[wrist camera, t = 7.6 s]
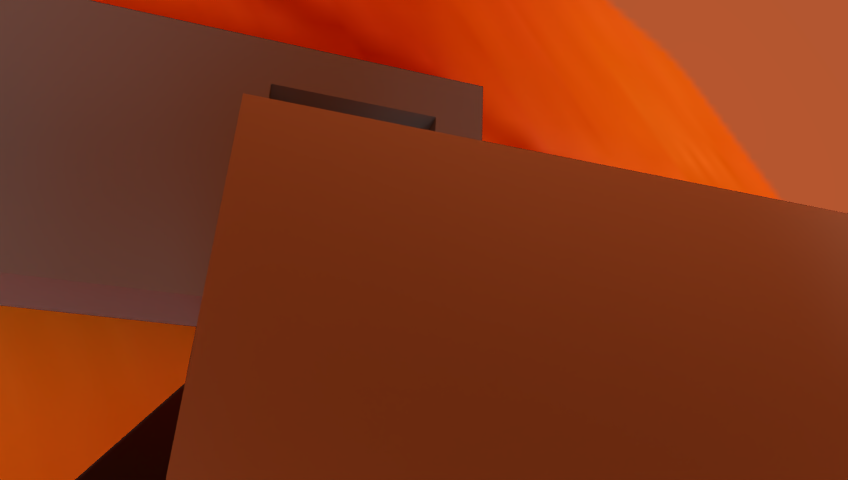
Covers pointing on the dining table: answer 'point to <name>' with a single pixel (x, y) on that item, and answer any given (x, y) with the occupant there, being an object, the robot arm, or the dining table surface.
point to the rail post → (505, 317)
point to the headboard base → (153, 146)
